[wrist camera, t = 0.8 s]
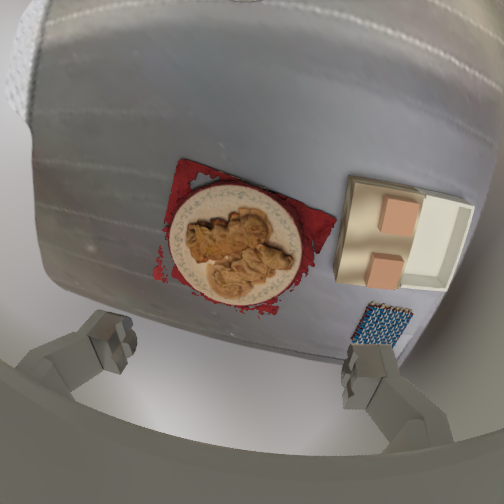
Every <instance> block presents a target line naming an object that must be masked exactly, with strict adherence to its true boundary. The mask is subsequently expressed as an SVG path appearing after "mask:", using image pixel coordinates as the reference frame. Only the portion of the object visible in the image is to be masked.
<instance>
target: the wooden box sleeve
mask: <svg viewBox="0 0 504 504" xmlns="http://www.w3.org/2000/svg"><path fill="white" fill-rule="evenodd" d="M384 194H385V195H390V196H396V197H402V198H407V199H412V200H415V201H417V202H418V203H419V204H420V206H419V210H418V214H417V218H416V222H415V226H414V230H413V234H412V237H407V236H400V235H393V234H387V233H381V232H380V231H379V229H378V222H379V218H380V213H381V208H382V203H383V198H384ZM424 196H425V195H424V194H422V193H421V192H420V191H418V190H417V189H415V188H414V187H412V186H407V185H402V184H397V183H392V182H386V181H381V180H375V179H369V178H363V177H357V176H351V175H349V178H348V185H347V192H346V198H345V205H344V211H343V216H342V222H341V228H340V233H339V239H338V244H337V249H336V254H335V259H334V264H333V270H334V276H335V281H336V283H343V284H353V285H363V286H366V284H365V281H364V279H365V275H366V272H367V268H368V264H369V260H370V256H371V252H376V253H384V254H392V255H400V256H401V257H402V258H403V260H404V265H403V268H402V271H401V275H400V278H399V281H398V284H397V287H396V289H399V286H400V283H401V280H402V277H403V274H404V271H405V268H406V264H407V261H408V258H409V255H410V251H411V248H412V244H413V241H414V237H415V233H416V230H417V226H418V222H419V218H420V214H421V210H422V205H423V201H424Z"/></svg>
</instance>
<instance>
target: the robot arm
mask: <svg viewBox="0 0 504 504" xmlns="http://www.w3.org/2000/svg"><path fill="white" fill-rule="evenodd" d="M233 1H241V2H250V1H258V0H233ZM132 326H133V322H132V319H131V318H130V317H128V316H124V315H120V314H116V313H112V312H107V311H103V310H96V311H95V312H94V313H93V314H92V316H90V318H89V319H88V320H87V321H86V322H85V323H84V324H83V325H82V327H81V328H80V329H79V330H78V331H77V332H72V333H69V334H67V335H65V336H62V337H60V338H58V339H56V340H53V341H51V342H48V343H46V344H44V345H41V346H39V347H37V348H34V349H33V350H30V351H29V352H28V353H27V354H26V356H25V357H24V358H23V359H22V360H21V362H20V363H19V364H18V365H17V366H16V367H15V368H13V367H12V366H10V365H8V364H7V363H5V362H4V361H2V360H1V359H0V504H504V428H503V429H500V430H497V431H494V432H490V433H487V434H484V435H481V436H477V437H474V438H470V439H466V440H462V441H458V442H454V441H453V437H452V433H451V430H450V426H449V423H448V419H447V416H446V414H445V413H444V412H443V411H442V410H441V409H440V408H439V407H437V406H436V405H435V404H434V403H433V402H432V401H431V400H430V399H428V398H427V397H426V396H425V395H424V394H423V393H422V392H421V391H420V390H418V389H417V388H416V387H415V386H414V385H413V384H412V383H411V382H410V381H408V380H407V379H406V378H405V377H401V375H400V372H399V368H398V365H397V361H396V358H395V355H394V351H393V348H392V346H391V345H390V344H377V345H376V344H350V345H349V347H348V351H347V355H348V358H347V359H345V360H344V363H343V366H342V373H341V384H342V386H343V387H344V388H345V389H344V391H343V394H342V397H343V408H344V409H366V412H367V413H368V414H369V416H370V417H371V418H372V420H373V421H374V422H375V423H376V425H377V426H378V428H379V429H380V430H381V432H382V433H383V434H384V436H385V437H386V438H387V440H388V441H389V442H390V444H389V445H388V446H387V448H386V449H385V450H384V451H383V452H382V453H381V454H374V455H357V456H302V455H285V454H273V453H264V452H256V451H248V450H241V449H234V448H228V447H222V446H217V445H212V444H207V443H202V442H197V441H193V440H188V439H184V438H180V437H176V436H172V435H168V434H165V433H161V432H158V431H154V430H151V429H148V428H145V427H141V426H138V425H135V424H132V423H129V422H126V421H124V420H121V419H118V418H115V417H113V416H110V415H108V414H105V413H102V412H100V411H97V410H95V409H93V408H90V407H88V406H85V405H83V404H81V403H79V402H76V401H75V399H74V397H73V396H72V394H71V393H70V392H71V391H73V390H75V389H76V388H78V387H79V386H81V385H82V384H84V383H85V382H87V381H88V380H90V379H92V378H93V377H94V376H96V375H98V374H99V373H101V372H102V371H103V370H106V371H110V372H113V373H116V374H121V373H122V372H123V370H124V368H125V367H126V365H127V364H128V362H127V358H129V357H131V356H132V355H133V354H134V352H135V351H136V347H137V336H136V334H135V332H134V331H133V330H132V329H131V328H132Z"/></svg>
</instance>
